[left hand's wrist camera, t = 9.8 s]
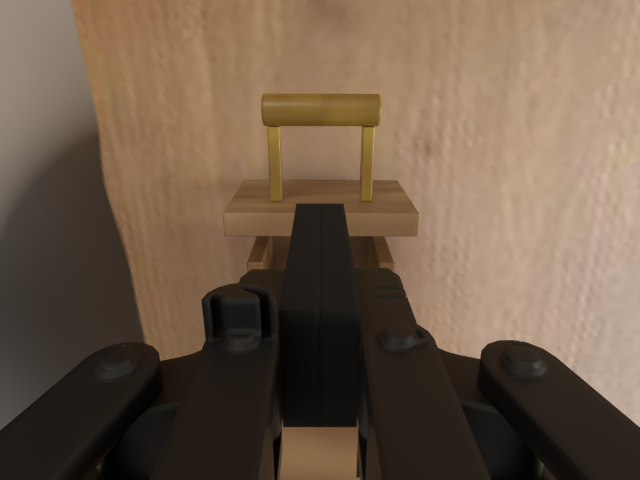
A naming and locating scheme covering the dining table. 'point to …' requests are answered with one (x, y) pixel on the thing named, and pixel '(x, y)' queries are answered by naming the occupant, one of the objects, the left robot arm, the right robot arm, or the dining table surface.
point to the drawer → (321, 186)
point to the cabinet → (319, 453)
